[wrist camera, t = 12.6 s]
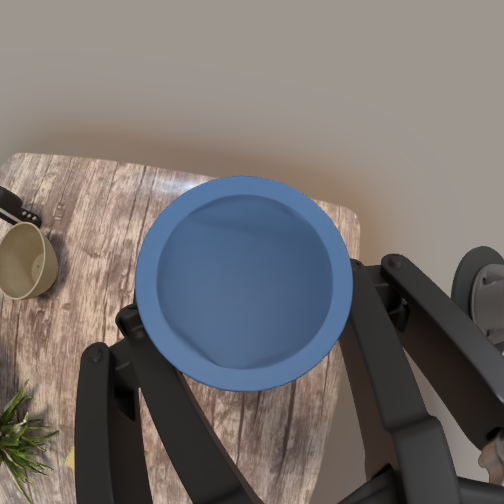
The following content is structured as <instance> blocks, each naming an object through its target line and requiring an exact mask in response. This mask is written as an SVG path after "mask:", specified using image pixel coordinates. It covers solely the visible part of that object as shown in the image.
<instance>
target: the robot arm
mask: <svg viewBox="0 0 504 504" xmlns="http://www.w3.org/2000/svg"><path fill="white" fill-rule="evenodd" d="M350 262H351V268H352V276H353V293H352V302H351V307H350V312H349V315H348V318H347V321H346V324H345V327H344V329H343V331H342V333H341V335H340V337H339V343H340V347H341V351H342V354H343V358H344V362H345V366H346V370H347V374H348V378H349V382H350V385H351V390H352V394H353V398H354V403H355V407H356V411H357V416H358V420H359V425H360V430H361V434H362V438H363V444H364V449H365V474H366V480H367V482H366V483H364V484H363V485H362V486H361V487H359V488H358V489H357V490H355V491H354V492H352V493H351V494H350V495H348V496H347V497H346V498H344V499H343V500H341V501H340V502H339V503H337V504H504V356H503V355H502V353H501V352H500V351H499V350H498V349H497V348H496V346H495V345H494V344H497V343H500V342H502V341H504V265H500V264H489V265H486V266H483V267H481V268H480V269H479V270H478V271H477V272H476V274H475V276H474V278H473V280H472V283H471V286H470V291H469V300H468V310H469V317H468V316H467V315H466V314H465V313H464V312H463V311H462V310H461V309H460V308H459V307H458V306H457V305H456V304H455V303H454V302H453V301H452V300H451V299H450V298H449V297H448V296H447V295H446V294H445V293H444V292H443V291H442V290H441V289H440V288H439V287H438V286H437V285H436V284H435V283H434V282H433V281H432V280H431V279H430V278H428V277H427V276H426V275H425V274H424V273H423V272H422V271H421V270H420V269H419V268H418V267H416V266H415V265H414V264H413V263H412V262H411V261H410V260H409V259H408V258H406V257H404V256H403V255H399V254H388V255H386V256H384V257H383V258H382V260H381V265H374V266H364V265H363V264H362V263H361V262H360V261H358V260H356V259H351V258H350ZM403 299H404V300H405V301H406V302H405V301H404V300H403ZM115 323H116V325H117V326H118V328H119V329H120V331H121V333H122V334H123V336H124V337H125V338H124V339H123V340H121V341H119V342H118V343H116V344H114V345H112V346H110V347H108V346H107V345H106V344H105V343H103V342H96V343H94V344H91V345H90V346H89V347H87V348H86V349H85V351H84V352H83V354H82V357H81V363H80V371H79V379H78V388H77V399H76V413H75V436H74V465H75V487H76V500H77V504H153V501H152V496H151V490H150V485H149V479H148V473H147V467H146V460H145V453H144V445H143V437H142V428H141V417H140V405H139V390H138V388H139V387H140V388H141V390H142V393H143V396H144V399H145V401H146V404H147V407H148V409H149V412H150V414H151V417H152V419H153V422H154V424H155V427H156V429H157V431H158V434H159V436H160V438H161V441H162V443H163V445H164V447H165V449H166V452H167V454H168V456H169V458H170V460H171V462H172V464H173V466H174V468H175V470H176V472H177V474H178V476H179V478H180V480H181V482H182V484H183V486H184V488H185V489H186V491H187V493H188V495H189V497H190V498H191V500H192V502H193V504H264V503H263V502H262V500H261V499H260V498H259V497H258V496H257V494H256V493H255V492H254V490H253V489H252V488H251V486H250V485H249V484H248V482H247V481H246V479H245V478H244V476H243V475H242V474H241V472H240V471H239V469H238V468H237V466H236V465H235V463H234V462H233V460H232V459H231V457H230V456H229V454H228V452H227V451H226V449H225V448H224V446H223V445H222V443H221V441H220V440H219V438H218V437H217V435H216V433H215V432H214V430H213V428H212V427H211V425H210V423H209V421H208V420H207V418H206V416H205V415H204V413H203V411H202V409H201V408H200V406H199V404H198V402H197V400H196V399H195V397H194V395H193V393H192V391H191V389H190V387H189V385H188V384H187V382H186V380H185V378H184V376H183V374H182V372H181V371H179V370H178V369H177V368H176V367H174V366H173V365H172V364H171V363H169V361H168V360H167V359H166V358H165V357H164V356H163V355H162V354H161V353H160V352H159V351H158V349H157V348H156V346H155V345H154V344H153V342H152V341H151V339H150V337H149V335H148V333H147V331H146V330H145V328H144V325H143V323H142V320H141V317H140V314H139V311H138V306H137V301H136V293H135V289H134V299H133V304H130V305H127V306H126V307H124V308H122V309H121V310H120V311H119V312H118V314H117V316H116V318H115ZM402 346H403V347H404V348H405V350H406V351H407V353H408V354H409V355H410V357H411V358H412V359H413V361H414V362H415V363H416V365H417V366H418V367H419V369H420V370H421V371H422V373H423V374H424V376H425V377H426V378H427V380H428V381H429V383H430V384H431V385H432V387H433V388H434V390H435V391H436V392H437V394H438V395H439V397H440V398H441V400H442V401H443V403H444V404H445V405H446V407H447V408H448V410H449V411H450V413H451V414H452V416H453V417H454V419H455V420H456V422H457V423H458V425H459V426H460V428H461V429H462V431H463V432H464V433H465V435H466V436H467V438H468V439H469V440H470V441H471V442H472V443H473V444H474V445H475V446H476V447H477V448H478V449H479V450H481V451H482V453H481V455H480V457H479V459H478V464H479V466H480V467H481V468H486V469H487V471H488V473H489V483H486V482H481V481H476V480H471V479H467V478H463V477H458V476H457V475H456V471H455V468H454V464H453V460H452V457H451V453H450V450H449V446H448V443H447V440H446V437H445V434H444V430H443V427H442V425H441V423H440V421H439V420H438V419H437V418H436V417H434V416H431V415H429V414H428V412H427V410H426V407H425V404H424V402H423V399H422V396H421V393H420V390H419V388H418V385H417V382H416V380H415V377H414V375H413V372H412V370H411V367H410V364H409V362H408V360H407V357H406V355H405V352H404V350H403V347H402Z"/></svg>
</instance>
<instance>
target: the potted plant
mask: <svg viewBox="0 0 504 504" xmlns="http://www.w3.org/2000/svg"><path fill="white" fill-rule="evenodd" d="M27 381H29V379H28V380H27ZM27 381H26V383H25V385H24V388H25V386H26V384H27V383H28V382H27ZM24 388H22V389H21V390H20V391H19V392H18V393H17V394H16V395H15V396H14V398H13V399H12V400H11V401H10V402H9V403H8V404H7V405H6V406H5V408H4V410H3V413H2V416H1V415H0V466H1V462H2V461H4V463H5V466H6V468H7V470H8V472H9V474H10V475H11V477H12V479H13V480H14V482H15V483H16V485H17V486H18V488H19V489H20V490H21V492H22V493H23V494H24V495H25V497H26V498H27V499H28V501H29V502H30V503H31V504H33V503H32V501H31V500H30V498H29V497H28V496H27V494H26V493H25V491H24V490H23V487H22V485H21V483H20V481H19V479H18V477H20V478H21V479H22V481H23V482H24V483H26V481H28V482H29V483H31V484H32V485H33V484H34V483H32V482H31V481H30V480H29V479H28V478H27V477H25V476H24V475H23V474H22V473H21V472H20V471H19V469H18V468H17V467H16V465H17V466H18V467H19V468H20V469H22V470H24V471H27V470H29V471H31V472H32V473H35V474H41V475H44V476H47V477H48V475H46V474H43V473H42V472H39V471H38V470H36V469H35V468H33V467H32V466H35V467H37V468H39V469H40V470H45V469H43V468H42V467H41V466H40V465H42V466H44V467H47V468H49V469H50V470H52V471H54V469H52V468H50V467H48V466H46V465H43V464H41V463H38V462H36V461H34V460H31V459H29V458H26V456H40V455H38V454H34V452H26V451H25V450H24V449H25V448H29V449H30V450H31V447H35V446H36V447H38V448H39V449H41V450H43V451H46V449H45V450H44V449H42V448H41V447H40V446H41V445H43V444H44V443H43V442H46V441H41V442H33V441H37V440H43V439H46V438H49V437H51V436H53V435H55V434H57V433H58V432H59V430H58V431H55V432H54V433H51V434H50V435H47V436H43V437H41V436H40V437H31V436H26V435H23V434H25V433H27V432H29V431H32V430H36V429H41V428H50V427H46V426H35V427H27V424H31V423H36V422H41V421H44V420H41V419H38V420H30V421H28V412H27V413H26V415H25V418H24V420H23V422H21V423H16V424H13V423H10V424H8V422H11V421H13V420H14V419H15V416H16V415H15V411H16V409H17V408H18V406H19V405H20V404H21V402H22V401H23V400H24V399H25V398H32V396H25V397H23V398H22V399H21V400H19V398H20V396H21V395H22V392H23V390H24ZM18 400H19V401H18ZM17 401H18V402H17ZM21 440H27V441H29V442H30V443H24V442H22V441H21ZM31 440H33V441H31ZM41 443H43V444H41ZM37 444H38V445H37ZM45 445H48V444H45ZM45 448H47V447H46V446H45ZM32 462H33V463H32ZM34 463H36V464H37V465H36V464H34ZM22 464H24V465H26V466H28V467H29V468H31V469H33V470H31V469H29V468H28V467H25V466H24V465H22ZM38 464H39V465H38ZM30 465H31V466H30ZM26 469H27V470H26Z"/></svg>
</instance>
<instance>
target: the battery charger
mask: <svg viewBox="0 0 504 504" xmlns="http://www.w3.org/2000/svg"><path fill="white" fill-rule="evenodd" d="M21 206H22V200H21V199H20V198H19V197H18V196H17V195H15V194H14V193H12V192H10V191H9V190H7V189H6V188H4V187H1V186H0V218H1V219H3V220H5V221H7V222H8V223H10V224H12V225H16V224H18V223H20V222H30V223H32V224H34V225H35V226H36V227H38V228H39V226H40V221H41V220H40V217H39V216H37V215H35V214H33V213H31V212H29V211H27V210H25V209H23V208H21Z"/></svg>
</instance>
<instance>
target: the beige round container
mask: <svg viewBox="0 0 504 504" xmlns="http://www.w3.org/2000/svg"><path fill="white" fill-rule="evenodd" d="M38 267H39V268H38ZM57 274H58V262H57V258H56V254H55V252H54V249H53V247H52V245H51V244H50V242H49V240H48V239H47V238H46V236H45V235H44V234H43V233H42V231H41V230H40V229H39V228H38V227H36V226H35V225H34V224H32V223H30V222H20V223H18V224H16V225H14V226H12V227H11V228H10V229H9V230H8V231H7V232H6V233H5V235H4V236H3V238H2V240H1V242H0V290H1V292H2V293H3V294H4V295H5V296H6V297H8V298H9V299H13V300H24V299H30V298H33V297H36V296H38V295H40V294H42V293H43V292H45V291H46V290H48V289H49V288H50V287H51V286H52V284H53V283H54V282H55V280H56V278H57Z"/></svg>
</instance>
